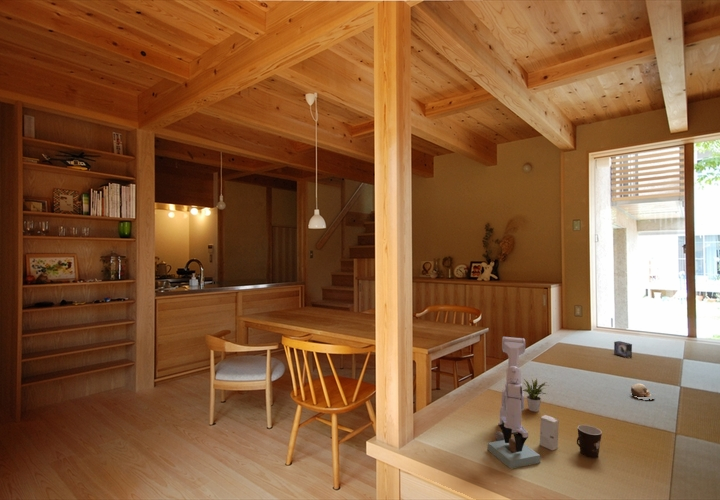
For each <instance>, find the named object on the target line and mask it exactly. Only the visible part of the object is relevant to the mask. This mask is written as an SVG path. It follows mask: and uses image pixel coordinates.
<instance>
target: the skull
mask: <svg viewBox="0 0 720 500" xmlns="http://www.w3.org/2000/svg"><path fill="white" fill-rule="evenodd" d="M630 393H632V394H633V396H637V397H650V396H652V394H651V391H650V390H649V389H648V388H647V387H646V385H644V384H643V383H635V384H632V386H631V387H630ZM633 396H632V397H633Z"/></svg>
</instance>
